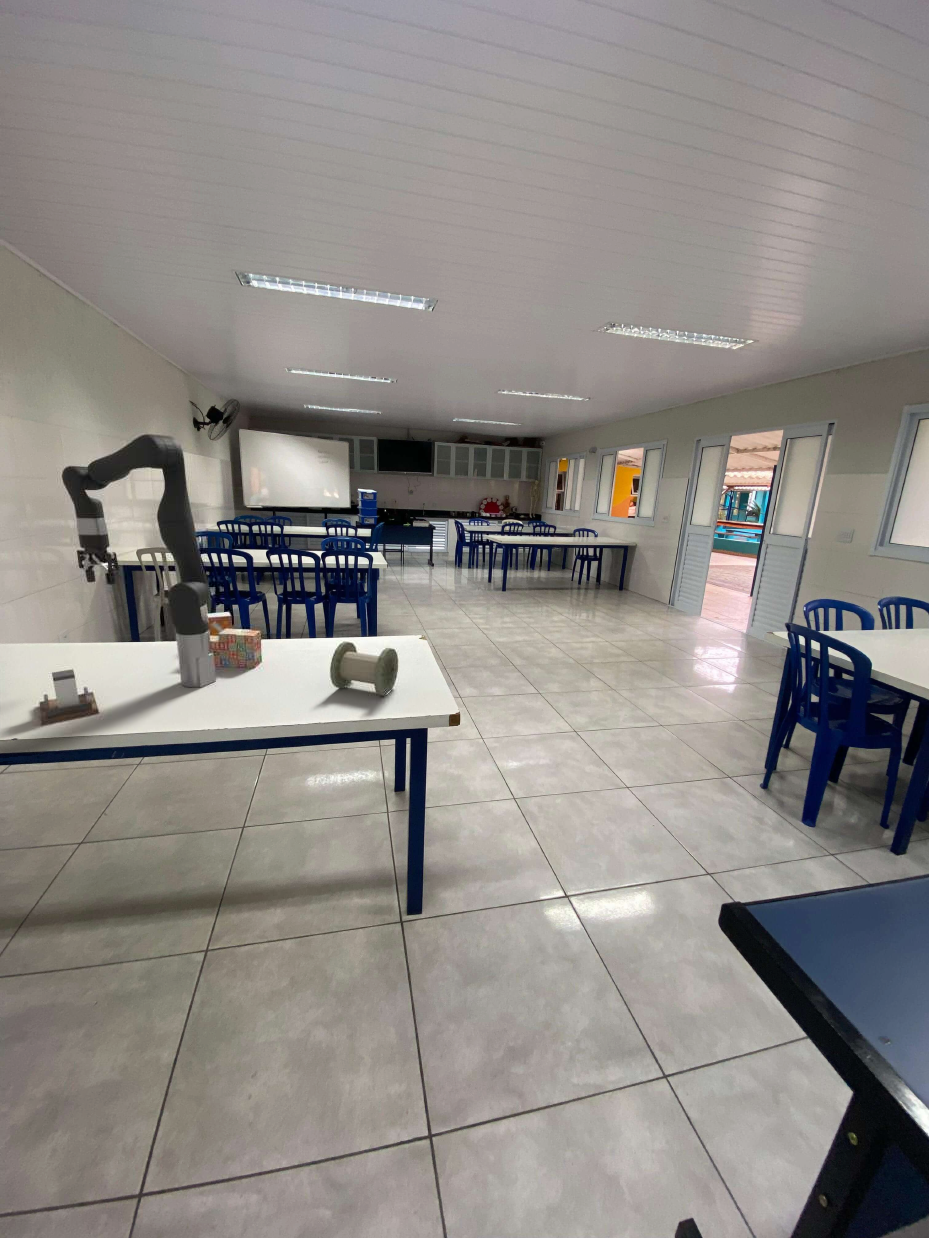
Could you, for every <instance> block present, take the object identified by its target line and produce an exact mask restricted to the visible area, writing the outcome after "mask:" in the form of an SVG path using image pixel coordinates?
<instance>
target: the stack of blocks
mask: <svg viewBox="0 0 929 1238" xmlns="http://www.w3.org/2000/svg"><path fill="white" fill-rule="evenodd" d="M261 634H262V633H261V630H253V629H240V628H238V629H237V628H236V629H235V628H232V629H225V630H223V631H222V632H220V633H219V634H218V636H210V644H211V653H213V654H214V661H215V667H229V668H232V667H233V668H248V669H249V668H250V669H256V668H257V667H258V666H259V665H260V664H262V663H263V657H262V656H263V655H262V637H261V636H262V635H261Z"/></svg>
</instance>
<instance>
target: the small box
mask: <svg viewBox="0 0 929 1238" xmlns="http://www.w3.org/2000/svg"><path fill="white" fill-rule="evenodd" d="M205 615H206V621H208V623H209V633H210V636H218V634H219V633H220V632H222V631H223V630H225V629H233V624H232V615H231V613H230V611H225V612H224V611H223V612H212V613H206V614H205Z"/></svg>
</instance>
